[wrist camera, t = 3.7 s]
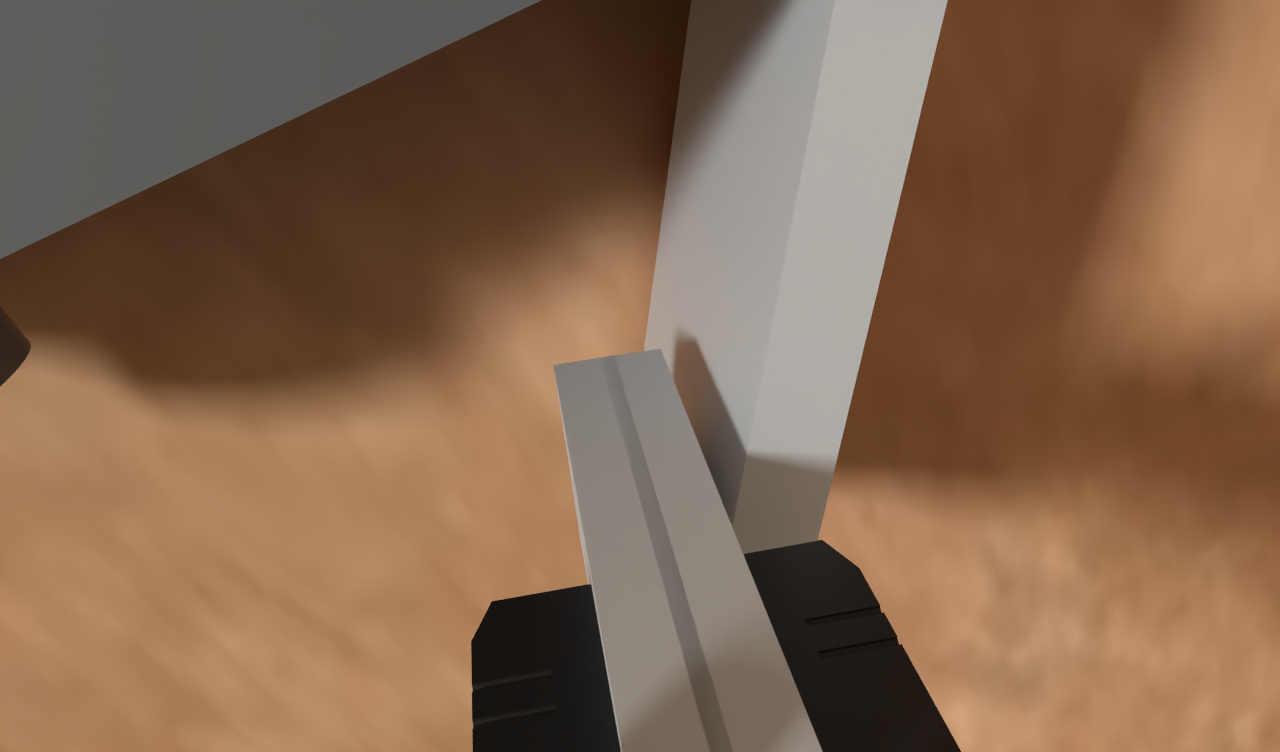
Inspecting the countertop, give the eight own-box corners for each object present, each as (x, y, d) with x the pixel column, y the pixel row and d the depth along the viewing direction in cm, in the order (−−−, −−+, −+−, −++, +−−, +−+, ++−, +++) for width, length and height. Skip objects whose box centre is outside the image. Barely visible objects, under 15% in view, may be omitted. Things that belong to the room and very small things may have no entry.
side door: (627, 457, 18) (696, 740, 12) (708, -150, 14) (871, -150, 8) (715, 460, 18) (823, 736, 12) (822, -134, 14) (1058, -122, 8)
